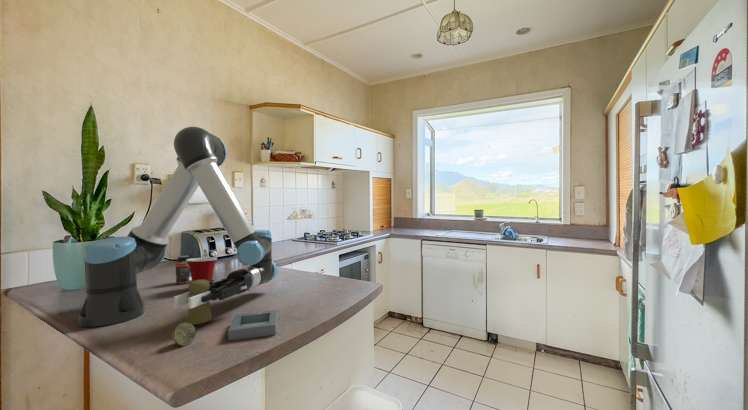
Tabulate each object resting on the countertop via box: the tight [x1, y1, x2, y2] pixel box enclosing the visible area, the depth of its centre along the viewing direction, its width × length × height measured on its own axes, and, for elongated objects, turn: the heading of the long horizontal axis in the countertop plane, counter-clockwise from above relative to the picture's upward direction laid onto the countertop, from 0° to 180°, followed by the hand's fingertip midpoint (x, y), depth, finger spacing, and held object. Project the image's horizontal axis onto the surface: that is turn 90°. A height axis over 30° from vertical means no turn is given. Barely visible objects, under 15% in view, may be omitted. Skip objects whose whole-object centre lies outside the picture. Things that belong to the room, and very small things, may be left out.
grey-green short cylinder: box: [171, 321, 197, 347], centre depth 74 cm, size 4×5×5 cm
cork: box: [186, 279, 213, 325], centre depth 85 cm, size 6×6×11 cm
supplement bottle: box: [175, 255, 192, 285], centre depth 131 cm, size 6×6×11 cm
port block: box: [227, 309, 278, 342], centre depth 82 cm, size 11×11×2 cm
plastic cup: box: [186, 257, 218, 281], centre depth 122 cm, size 11×11×12 cm
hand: (182, 302), depth 80 cm, fingers closed on cork, 4 cm apart
